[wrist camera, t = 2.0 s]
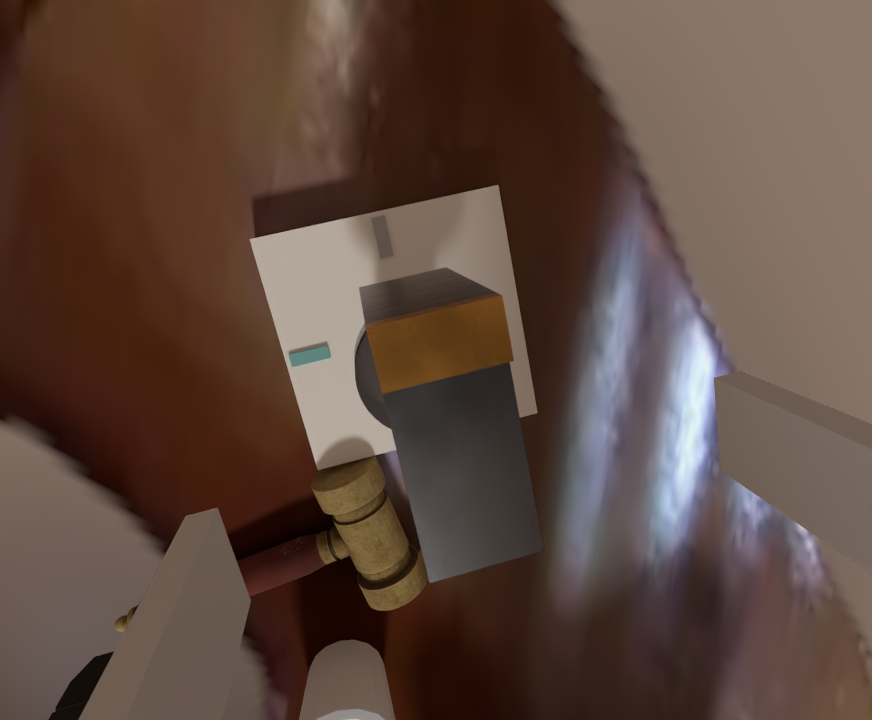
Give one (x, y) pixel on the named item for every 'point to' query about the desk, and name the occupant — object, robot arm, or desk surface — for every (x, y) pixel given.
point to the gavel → (344, 542)
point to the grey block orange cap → (450, 416)
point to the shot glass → (347, 684)
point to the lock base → (342, 309)
